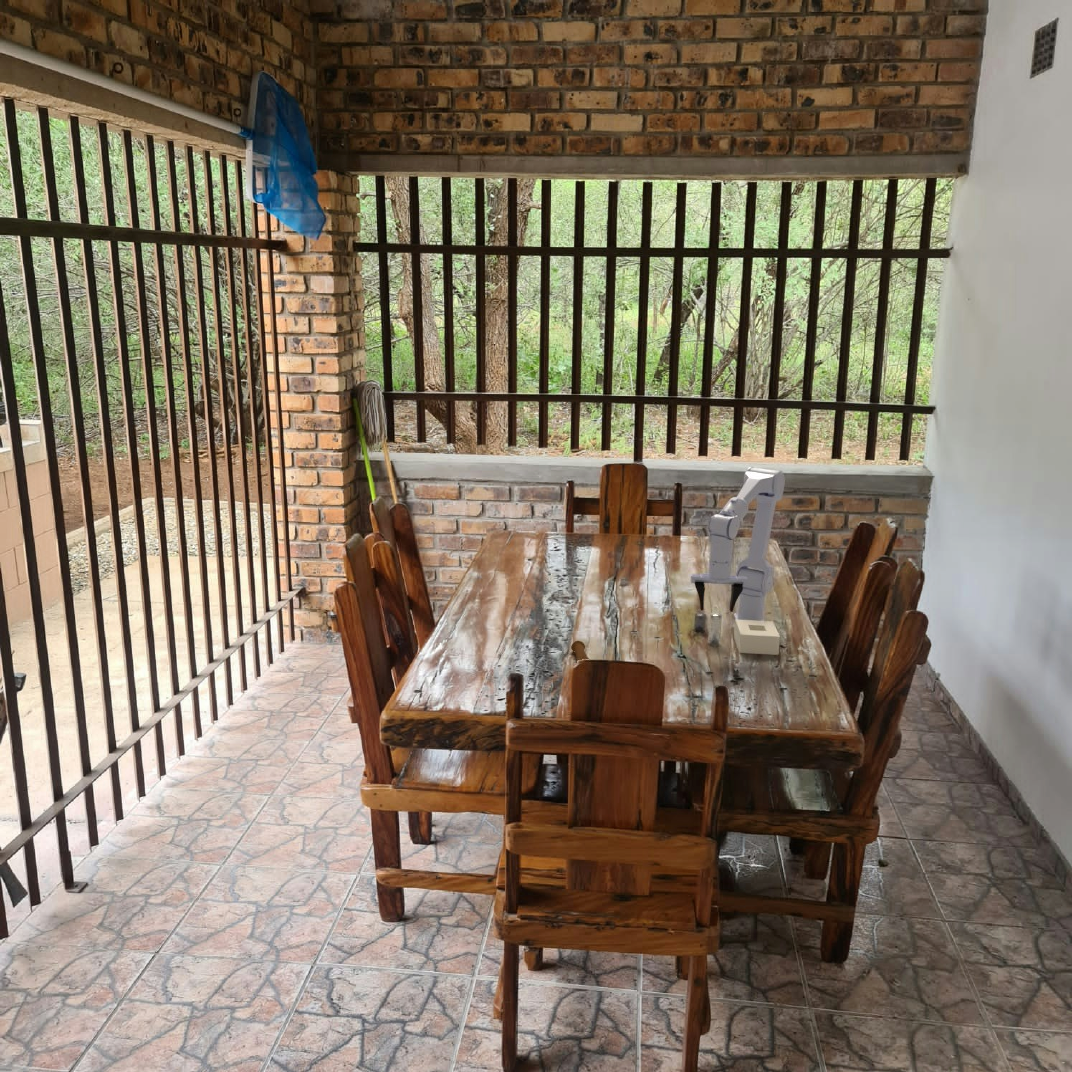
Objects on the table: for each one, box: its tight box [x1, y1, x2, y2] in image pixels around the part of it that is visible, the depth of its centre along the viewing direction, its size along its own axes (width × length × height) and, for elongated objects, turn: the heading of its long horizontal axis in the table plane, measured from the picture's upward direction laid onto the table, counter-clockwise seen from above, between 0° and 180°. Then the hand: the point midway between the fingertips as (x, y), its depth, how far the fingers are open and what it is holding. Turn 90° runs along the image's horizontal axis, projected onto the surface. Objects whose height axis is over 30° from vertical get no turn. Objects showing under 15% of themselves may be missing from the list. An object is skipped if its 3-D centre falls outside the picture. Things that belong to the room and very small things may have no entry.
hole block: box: [733, 618, 781, 656], centre depth 254 cm, size 12×10×5 cm
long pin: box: [707, 612, 723, 646], centre depth 254 cm, size 3×3×8 cm
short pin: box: [693, 612, 707, 633], centre depth 265 cm, size 3×3×4 cm
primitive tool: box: [570, 640, 590, 661], centre depth 238 cm, size 19×6×4 cm, turn 9°
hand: (716, 609), depth 253 cm, fingers open, 7 cm apart
